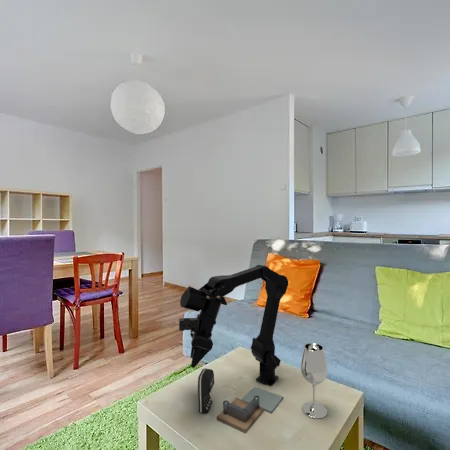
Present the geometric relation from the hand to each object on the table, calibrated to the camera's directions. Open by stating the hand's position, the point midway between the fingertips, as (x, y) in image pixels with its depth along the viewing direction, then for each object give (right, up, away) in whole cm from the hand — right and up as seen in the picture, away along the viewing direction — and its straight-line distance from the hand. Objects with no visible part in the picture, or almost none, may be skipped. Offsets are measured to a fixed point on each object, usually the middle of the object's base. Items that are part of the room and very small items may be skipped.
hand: (192, 362), depth 94 cm
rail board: (+15, -14, -5) cm, 21 cm away
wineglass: (+38, -14, -3) cm, 41 cm away
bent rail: (+16, -13, -3) cm, 21 cm away
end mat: (+23, -14, +3) cm, 27 cm away
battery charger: (+5, -14, 0) cm, 15 cm away
